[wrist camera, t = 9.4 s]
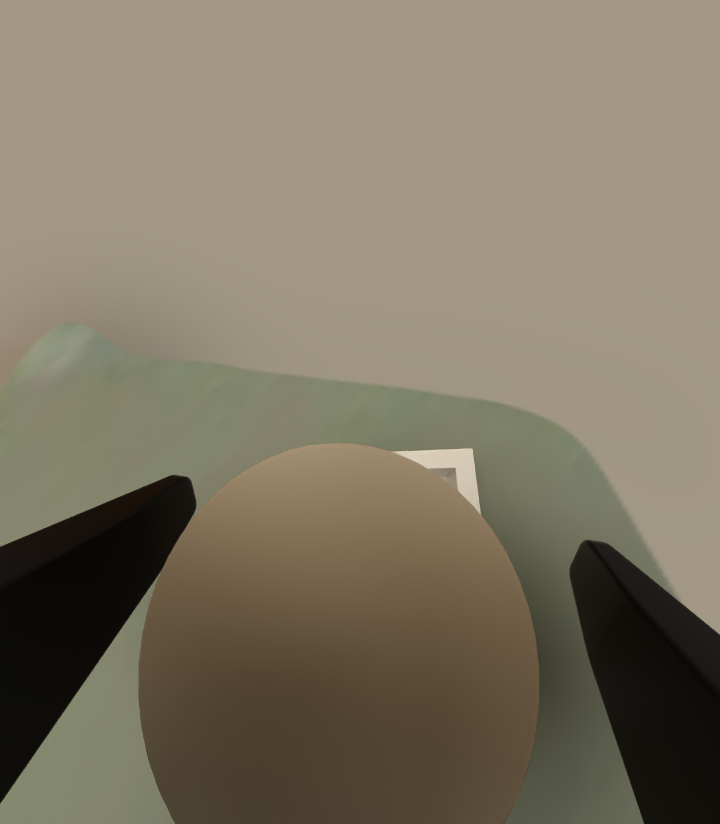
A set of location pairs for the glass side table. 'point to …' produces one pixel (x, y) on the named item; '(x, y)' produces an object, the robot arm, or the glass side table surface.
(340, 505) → the tan rounded rod
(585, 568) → the robot arm
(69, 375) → the glass side table surface
